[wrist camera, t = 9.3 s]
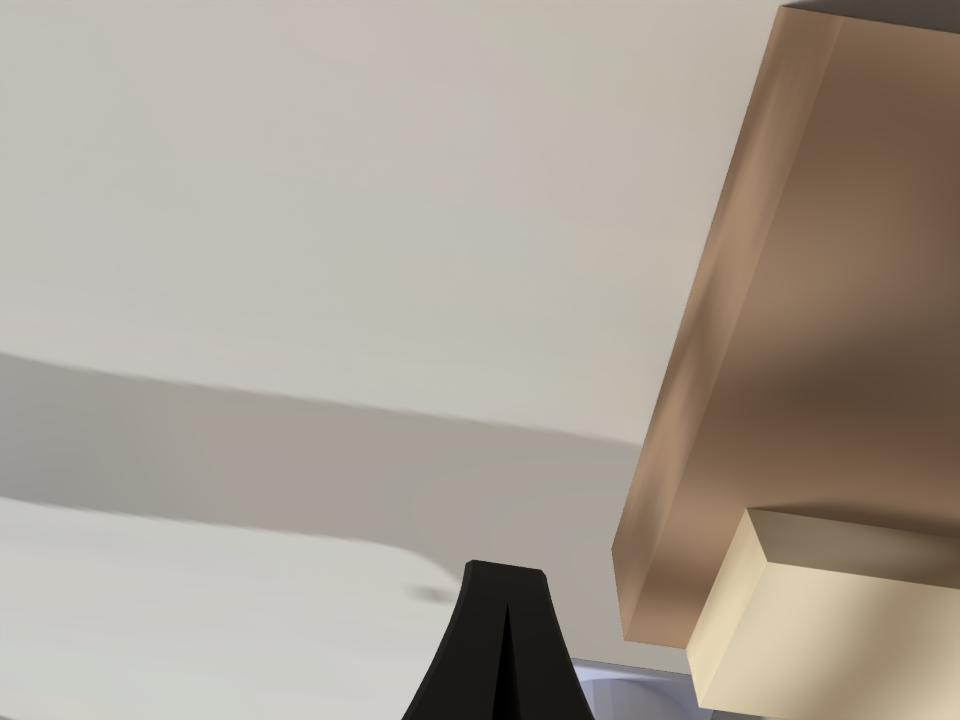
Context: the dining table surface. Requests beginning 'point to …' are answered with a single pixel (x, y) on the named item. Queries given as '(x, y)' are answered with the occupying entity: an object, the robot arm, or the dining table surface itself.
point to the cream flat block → (831, 623)
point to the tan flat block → (812, 319)
